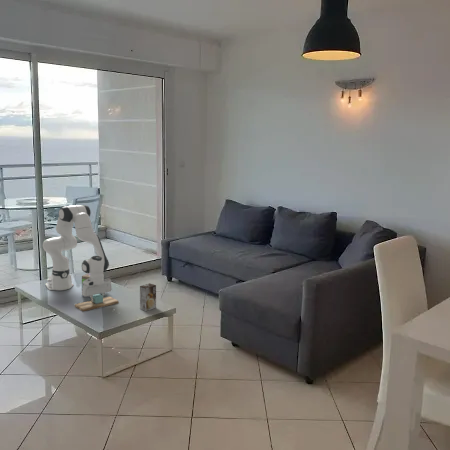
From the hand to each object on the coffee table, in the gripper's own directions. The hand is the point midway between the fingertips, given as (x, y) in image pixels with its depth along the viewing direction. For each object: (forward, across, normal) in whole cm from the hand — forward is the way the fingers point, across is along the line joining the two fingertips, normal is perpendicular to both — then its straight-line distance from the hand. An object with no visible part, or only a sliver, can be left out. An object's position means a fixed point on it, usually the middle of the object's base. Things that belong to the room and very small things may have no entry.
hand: (97, 299), depth 308 cm
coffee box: (+4, -23, +27) cm, 35 cm away
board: (+3, 0, 0) cm, 3 cm away
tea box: (+4, -8, -23) cm, 25 cm away
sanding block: (+2, 0, 0) cm, 2 cm away
